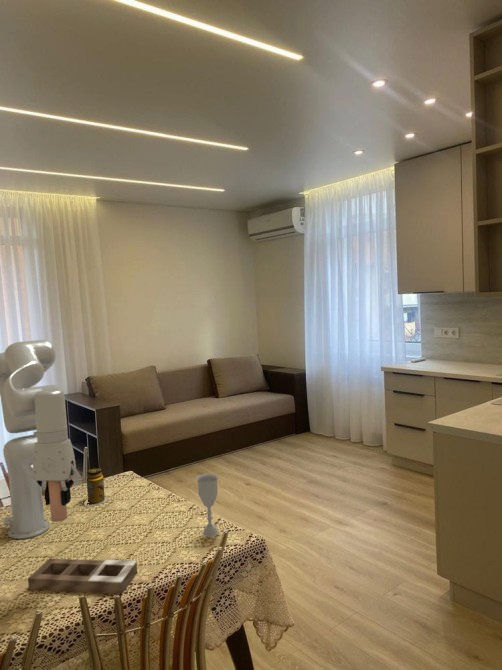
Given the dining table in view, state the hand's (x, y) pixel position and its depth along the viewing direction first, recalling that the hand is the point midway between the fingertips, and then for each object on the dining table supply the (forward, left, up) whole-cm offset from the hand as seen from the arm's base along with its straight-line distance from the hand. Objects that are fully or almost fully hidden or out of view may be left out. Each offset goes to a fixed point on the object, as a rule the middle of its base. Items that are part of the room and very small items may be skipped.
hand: (58, 502), depth 132 cm
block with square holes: (+6, 0, -21) cm, 22 cm away
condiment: (-17, +51, -22) cm, 58 cm away
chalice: (+33, +29, -22) cm, 49 cm away
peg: (0, 0, -4) cm, 4 cm away
